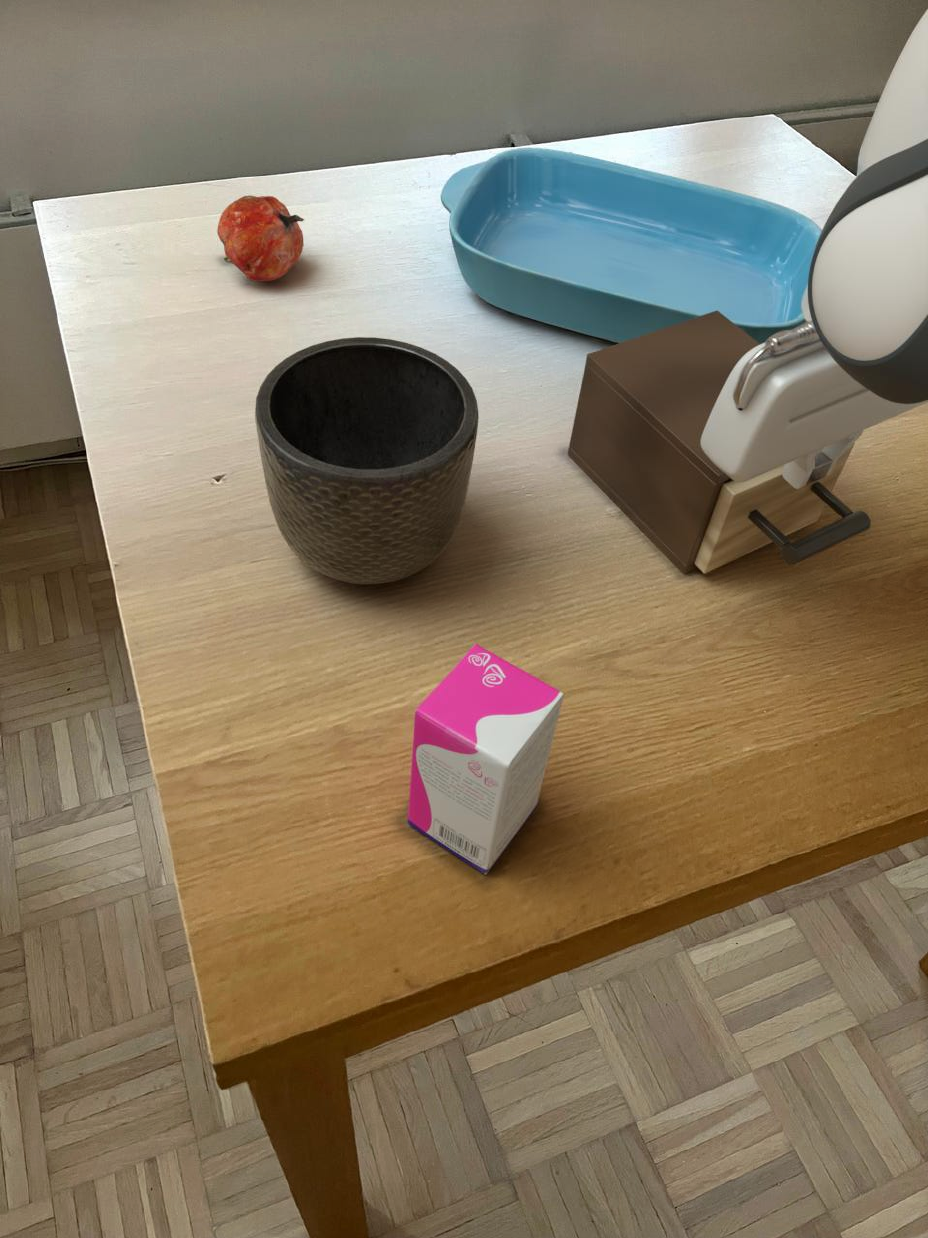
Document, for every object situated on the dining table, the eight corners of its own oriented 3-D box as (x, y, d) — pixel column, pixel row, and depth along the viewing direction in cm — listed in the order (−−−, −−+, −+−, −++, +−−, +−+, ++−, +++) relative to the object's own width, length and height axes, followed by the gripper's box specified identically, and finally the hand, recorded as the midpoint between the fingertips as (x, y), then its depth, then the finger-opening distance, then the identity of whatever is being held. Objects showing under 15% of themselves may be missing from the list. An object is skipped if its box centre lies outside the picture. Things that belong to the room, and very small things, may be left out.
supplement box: (540, 803, 61) (569, 692, 52) (485, 878, 58) (507, 773, 49) (460, 753, 63) (475, 638, 54) (403, 823, 60) (409, 712, 51)
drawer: (865, 563, 75) (909, 485, 69) (750, 621, 70) (786, 543, 64) (702, 417, 84) (728, 337, 78) (592, 460, 80) (610, 379, 74)
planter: (281, 473, 77) (269, 328, 67) (465, 483, 78) (479, 341, 68) (257, 614, 69) (238, 471, 59) (464, 625, 69) (480, 485, 59)
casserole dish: (831, 280, 101) (858, 212, 95) (809, 415, 87) (839, 344, 81) (476, 196, 106) (482, 126, 100) (402, 310, 92) (404, 238, 86)
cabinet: (808, 516, 79) (854, 419, 71) (684, 574, 74) (719, 476, 66) (687, 408, 86) (717, 309, 79) (567, 454, 81) (587, 353, 74)
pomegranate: (218, 308, 94) (288, 275, 87) (176, 231, 91) (245, 191, 85) (269, 279, 99) (339, 247, 92) (230, 205, 96) (300, 166, 90)
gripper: (795, 379, 52) (720, 561, 63) (1043, 281, 60) (939, 458, 71) (714, 312, 55) (655, 497, 66) (960, 228, 63) (872, 405, 74)
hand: (804, 476), depth 68 cm, fingers closed
